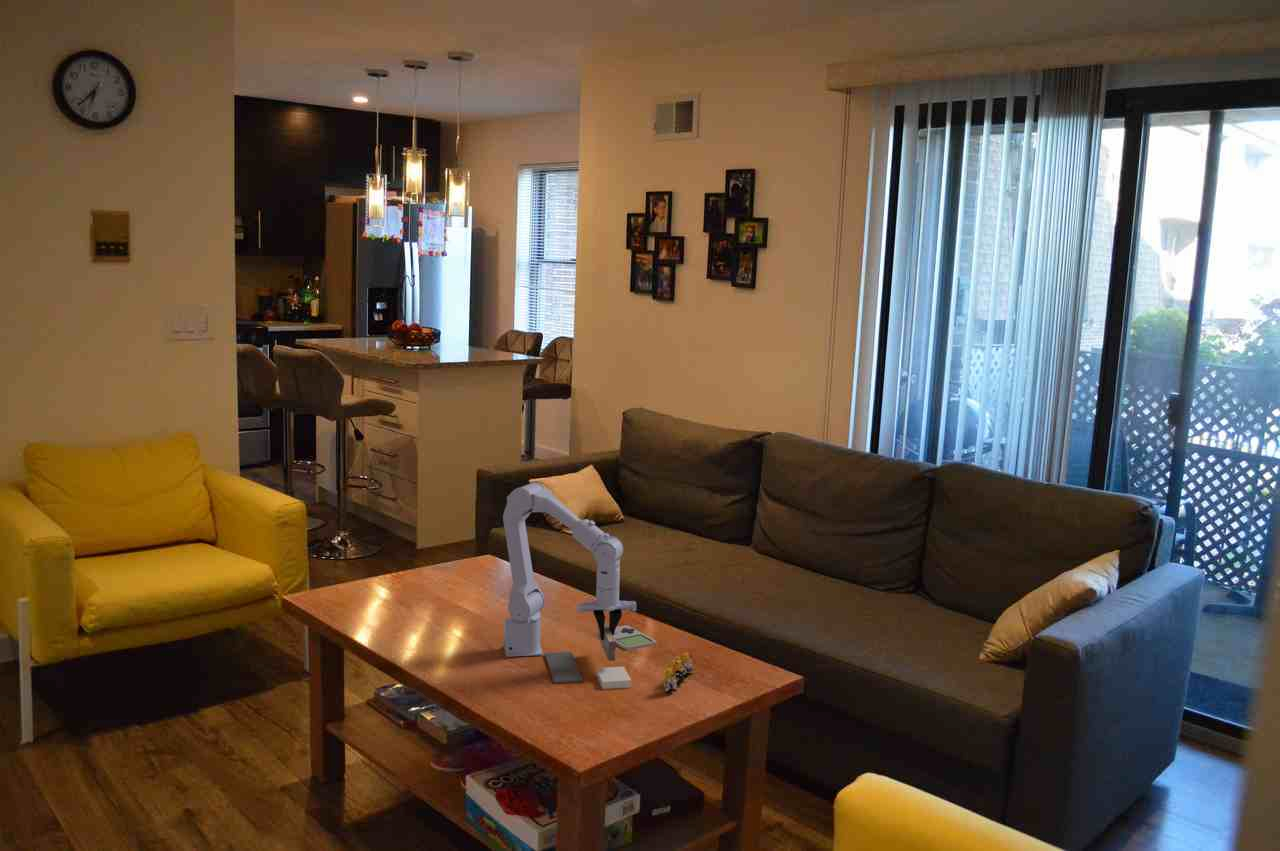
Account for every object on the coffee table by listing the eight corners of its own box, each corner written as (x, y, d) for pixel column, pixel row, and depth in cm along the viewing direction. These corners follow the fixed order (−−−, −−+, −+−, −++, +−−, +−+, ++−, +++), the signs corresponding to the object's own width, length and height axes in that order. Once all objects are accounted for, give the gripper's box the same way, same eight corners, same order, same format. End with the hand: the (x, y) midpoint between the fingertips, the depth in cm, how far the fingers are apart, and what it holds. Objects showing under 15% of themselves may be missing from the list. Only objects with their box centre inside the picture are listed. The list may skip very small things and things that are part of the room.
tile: (595, 676, 257) (602, 690, 248) (596, 668, 257) (602, 682, 248) (623, 674, 258) (631, 688, 250) (623, 666, 258) (631, 680, 249)
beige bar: (608, 660, 255) (609, 641, 254) (597, 637, 271) (598, 618, 270) (615, 660, 255) (615, 641, 255) (604, 636, 271) (604, 618, 270)
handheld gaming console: (627, 623, 292) (657, 640, 279) (627, 629, 292) (657, 646, 279) (596, 629, 286) (626, 646, 274) (596, 635, 286) (626, 652, 274)
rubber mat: (553, 683, 250) (553, 681, 250) (544, 655, 269) (544, 652, 269) (582, 682, 252) (582, 679, 252) (571, 653, 270) (571, 651, 270)
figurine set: (658, 695, 246) (659, 668, 245) (682, 672, 261) (683, 646, 260) (672, 697, 245) (673, 671, 244) (695, 674, 260) (696, 649, 259)
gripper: (581, 592, 255) (580, 645, 257) (639, 590, 258) (637, 642, 260) (577, 583, 262) (576, 635, 264) (633, 581, 265) (632, 633, 267)
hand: (606, 638), depth 263 cm, fingers closed on beige bar, 2 cm apart
